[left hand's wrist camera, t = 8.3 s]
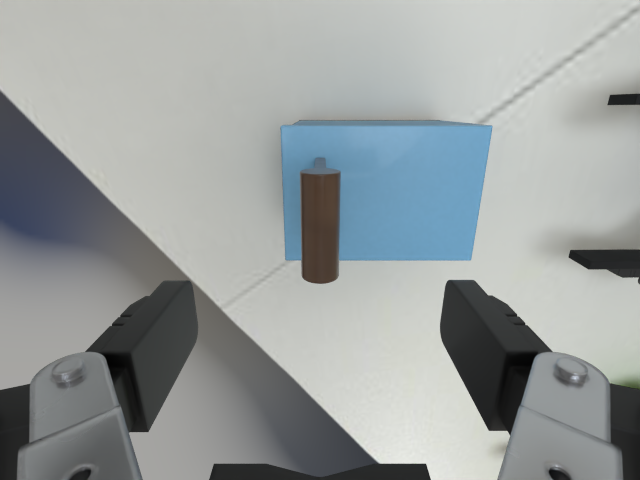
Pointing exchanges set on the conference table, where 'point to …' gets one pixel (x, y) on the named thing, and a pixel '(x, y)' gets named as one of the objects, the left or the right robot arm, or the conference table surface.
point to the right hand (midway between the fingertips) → (598, 185)
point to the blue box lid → (380, 193)
